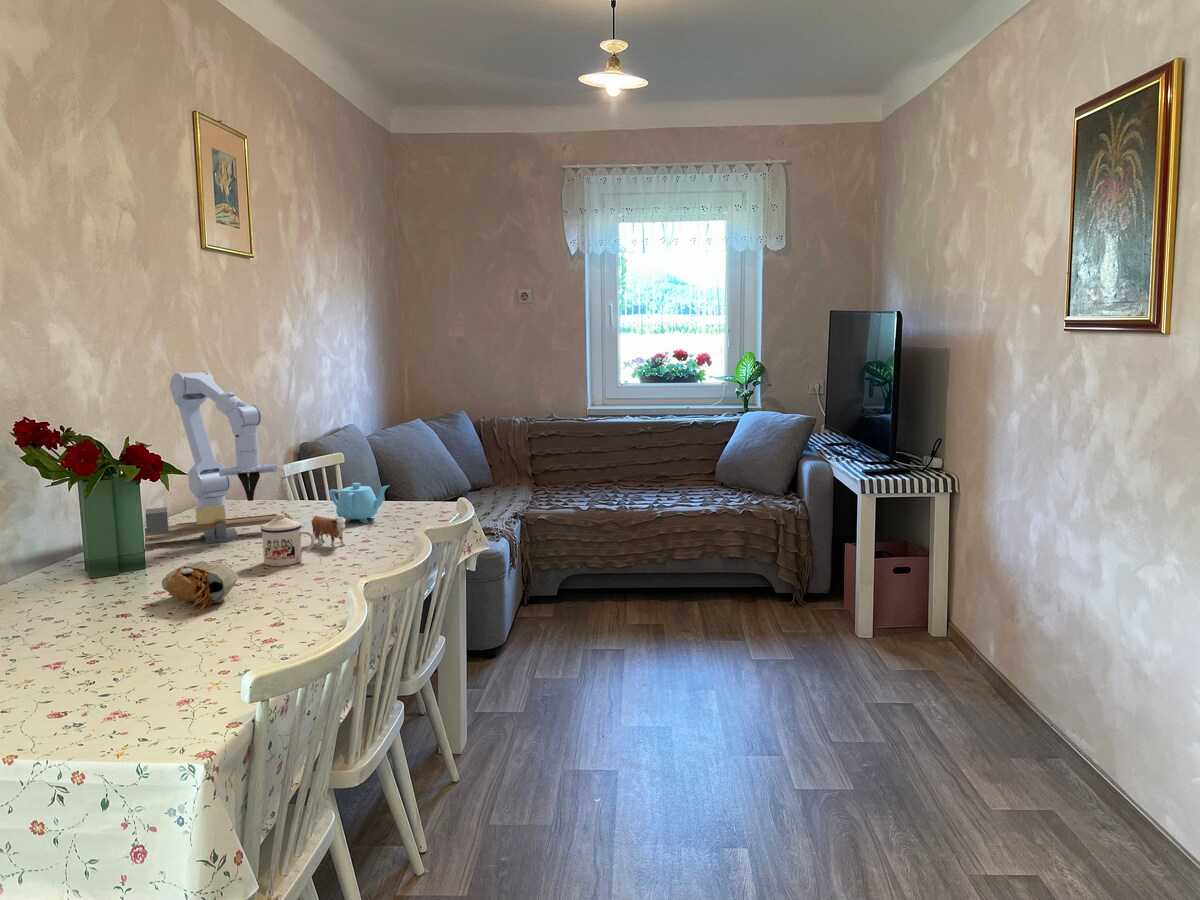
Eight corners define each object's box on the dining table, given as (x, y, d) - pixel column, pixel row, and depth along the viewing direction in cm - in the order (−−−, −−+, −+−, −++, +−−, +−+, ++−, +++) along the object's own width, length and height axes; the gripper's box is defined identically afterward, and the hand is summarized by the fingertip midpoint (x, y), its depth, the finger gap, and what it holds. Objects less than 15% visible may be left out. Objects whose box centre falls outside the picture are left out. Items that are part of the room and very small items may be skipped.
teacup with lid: (259, 568, 211) (256, 519, 209) (266, 558, 220) (263, 511, 218) (313, 565, 213) (310, 516, 211) (317, 555, 222) (315, 509, 220)
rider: (196, 523, 241) (195, 507, 241) (224, 521, 244) (223, 504, 244) (197, 526, 238) (195, 510, 237) (225, 523, 241) (224, 507, 240)
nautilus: (228, 620, 175) (145, 630, 172) (246, 583, 195) (172, 591, 192) (222, 581, 173) (138, 590, 170) (241, 548, 194) (167, 556, 191)
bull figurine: (341, 550, 226) (339, 519, 225) (309, 543, 234) (307, 512, 233) (355, 547, 230) (353, 516, 229) (323, 540, 238) (321, 510, 237)
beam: (145, 530, 238) (143, 509, 237) (288, 516, 253) (287, 496, 253) (145, 536, 231) (143, 514, 230) (292, 521, 247) (290, 500, 246)
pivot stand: (203, 534, 246) (202, 518, 246) (234, 531, 250) (233, 515, 249) (205, 543, 235) (204, 526, 235) (238, 540, 239) (237, 523, 238)
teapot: (329, 521, 264) (325, 483, 262) (374, 512, 273) (371, 476, 271) (346, 528, 254) (343, 490, 252) (393, 519, 263) (390, 481, 261)
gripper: (218, 454, 236) (222, 505, 238) (277, 450, 243) (280, 500, 244) (217, 451, 243) (220, 500, 244) (274, 447, 249) (277, 495, 251)
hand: (250, 500), depth 245 cm, fingers closed
